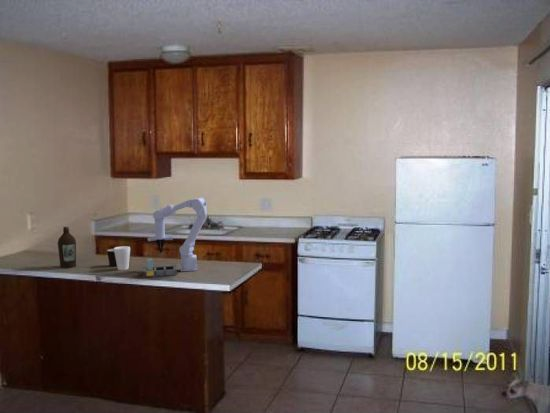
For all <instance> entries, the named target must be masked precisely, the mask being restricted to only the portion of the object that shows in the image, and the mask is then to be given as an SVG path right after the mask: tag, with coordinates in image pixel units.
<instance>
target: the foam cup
mask: <svg viewBox="0 0 550 413" xmlns="http://www.w3.org/2000/svg"><path fill="white" fill-rule="evenodd" d="M113 249H114V252H115V257H116V263H117V267H116V268H117V270H118V271H127V270H128V269H129V267H130V266H129V264H130V256H131V246H127V245H126V246H123V245H122V246H115V247H114V248H113Z"/></svg>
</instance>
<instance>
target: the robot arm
mask: <svg viewBox="0 0 550 413" xmlns="http://www.w3.org/2000/svg"><path fill="white" fill-rule="evenodd" d="M207 205H208V204H207V202H206V199H204V197H202V196H201V197H199V196H198V197H197V198H192V199H187V200H185V201H183V202H180V203H178V204H176V205H173V204H167V205H166V206H164V207H160V208H159V209H156V210H154V211H153V214H152V217H153V219H154V235H155V236H151V237H147V242H153V241H155V243H156V245H157V247H158V250H159V253H160V254H161V253H163V248H164V244H165V242H166V241H173V240H174V237H173V236H171V235H169V236H166V229H165V227H166V226H165V218H168V217H170V216H172V215H175V214H176V212H177V211H179V210H182V209H184V208H192V209H193V210H194V211H195V212H196V218H195V221H194V222H193V225H192V226H191V229H190V231H189V233H188V236H187V238H186V239H185V241H184V242H183V244H182V245H181V246H179V254H180V272H191V271H195V272H196V271H197V270H198V261H197V260H198V259H197V254H194V253H193V252H194V250H195V244H196V239H197V238H198V236H199V233H200V232H201V229H202V226H203V225H204V223H205V222H206V221H205V220H206V218H207V215H208V210H207Z"/></svg>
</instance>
